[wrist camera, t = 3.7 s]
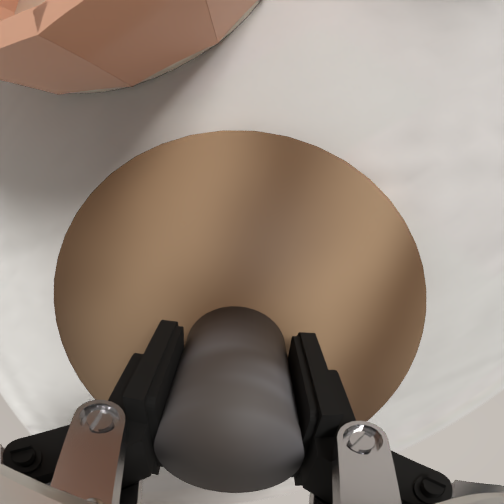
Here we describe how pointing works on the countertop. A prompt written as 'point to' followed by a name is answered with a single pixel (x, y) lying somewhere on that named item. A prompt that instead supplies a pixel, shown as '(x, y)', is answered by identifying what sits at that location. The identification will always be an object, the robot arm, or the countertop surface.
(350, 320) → the lid
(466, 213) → the countertop surface
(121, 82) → the bowl
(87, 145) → the countertop surface
